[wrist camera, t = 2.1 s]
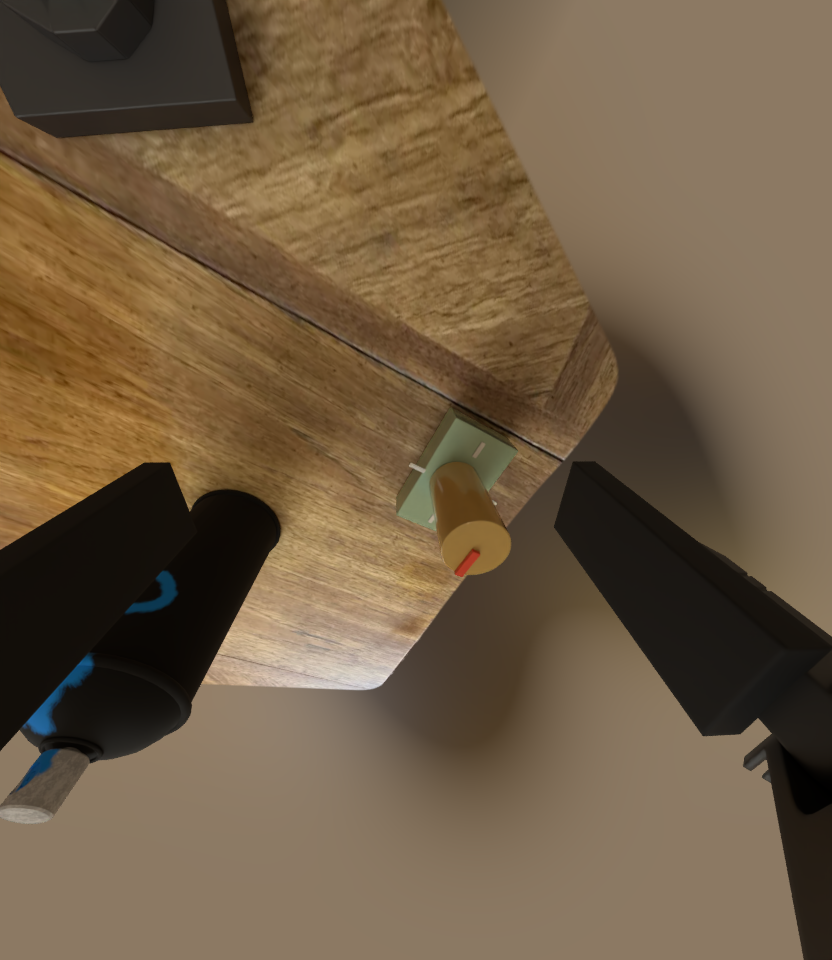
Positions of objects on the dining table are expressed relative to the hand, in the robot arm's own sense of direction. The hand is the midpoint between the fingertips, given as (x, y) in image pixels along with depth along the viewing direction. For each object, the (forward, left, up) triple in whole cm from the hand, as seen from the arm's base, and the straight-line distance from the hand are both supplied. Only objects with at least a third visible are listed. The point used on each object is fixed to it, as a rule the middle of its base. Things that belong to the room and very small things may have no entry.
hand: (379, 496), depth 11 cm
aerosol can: (+16, +12, -17) cm, 26 cm away
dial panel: (-5, +8, -16) cm, 19 cm away
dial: (-5, +8, -13) cm, 16 cm away
